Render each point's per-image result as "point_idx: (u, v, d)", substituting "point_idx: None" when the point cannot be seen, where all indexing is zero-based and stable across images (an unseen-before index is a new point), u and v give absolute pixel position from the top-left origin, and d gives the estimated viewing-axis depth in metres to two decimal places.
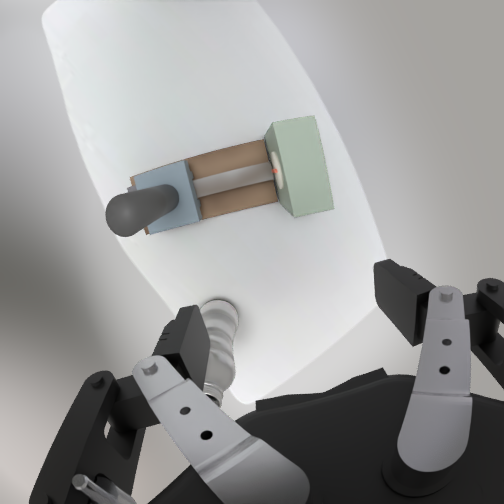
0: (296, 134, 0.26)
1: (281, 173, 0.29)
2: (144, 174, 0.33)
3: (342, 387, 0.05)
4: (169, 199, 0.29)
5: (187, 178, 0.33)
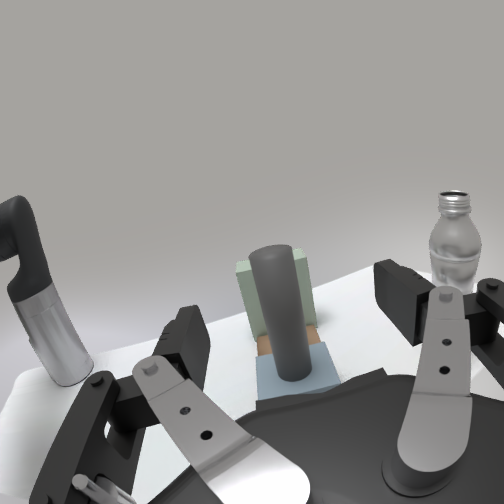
0: (247, 265, 0.40)
1: None
2: (259, 389, 0.25)
3: (341, 388, 0.05)
4: None
5: None
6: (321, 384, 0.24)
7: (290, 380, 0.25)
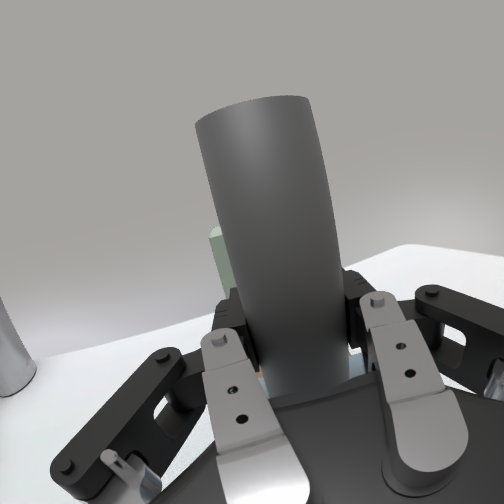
0: None
1: None
2: None
3: (342, 387, 0.05)
4: None
5: None
6: None
7: None
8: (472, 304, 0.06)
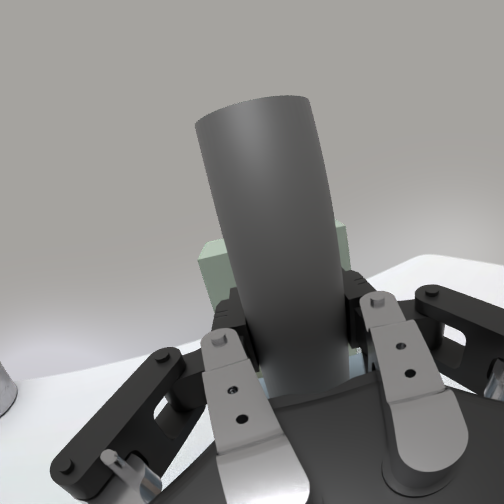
0: (224, 245, 0.20)
1: None
2: None
3: (342, 387, 0.05)
4: None
5: None
6: None
7: None
8: (472, 304, 0.06)
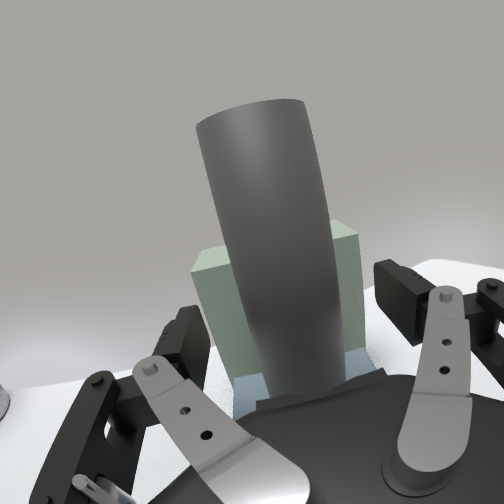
0: (220, 255, 0.18)
1: None
2: None
3: (342, 387, 0.05)
4: None
5: None
6: None
7: None
8: None
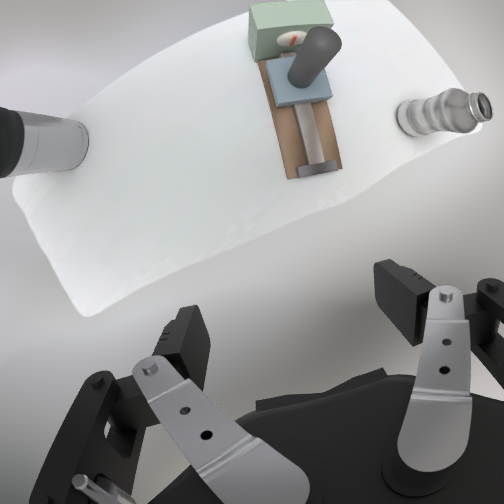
0: (266, 15, 0.24)
1: (297, 31, 0.27)
2: (277, 93, 0.33)
3: (341, 387, 0.05)
4: None
5: (282, 58, 0.32)
6: (320, 94, 0.33)
7: (299, 88, 0.33)
8: None
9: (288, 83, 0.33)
